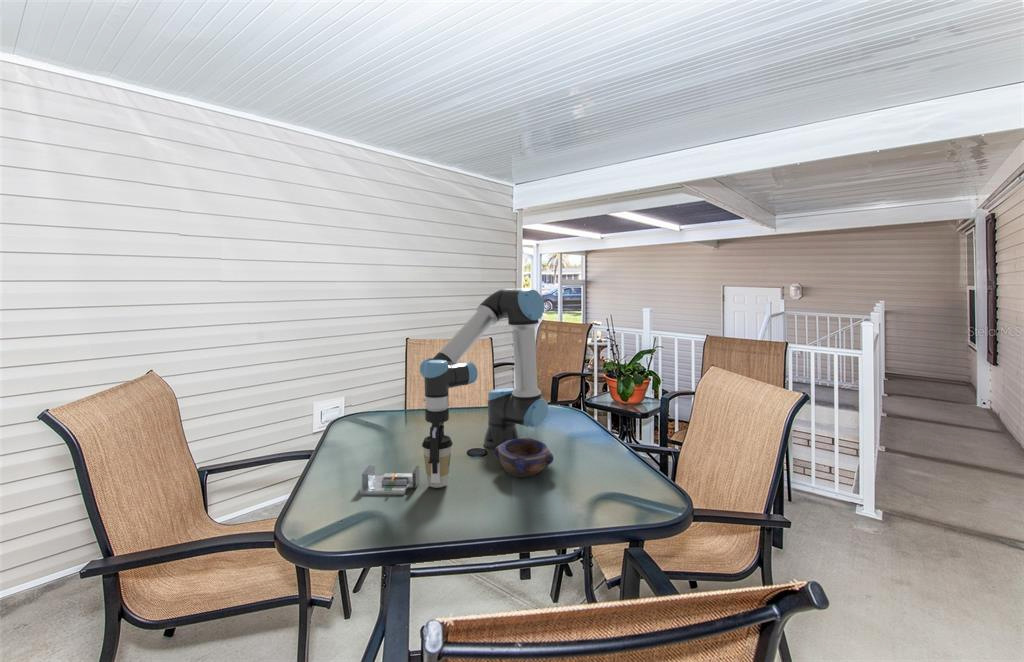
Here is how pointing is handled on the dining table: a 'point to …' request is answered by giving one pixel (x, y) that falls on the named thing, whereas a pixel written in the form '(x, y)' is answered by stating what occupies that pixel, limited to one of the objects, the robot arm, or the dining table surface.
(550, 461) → the bowl
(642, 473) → the dining table surface
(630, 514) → the dining table surface
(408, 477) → the plunger
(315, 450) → the dining table surface
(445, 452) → the coffee cup
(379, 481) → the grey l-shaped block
